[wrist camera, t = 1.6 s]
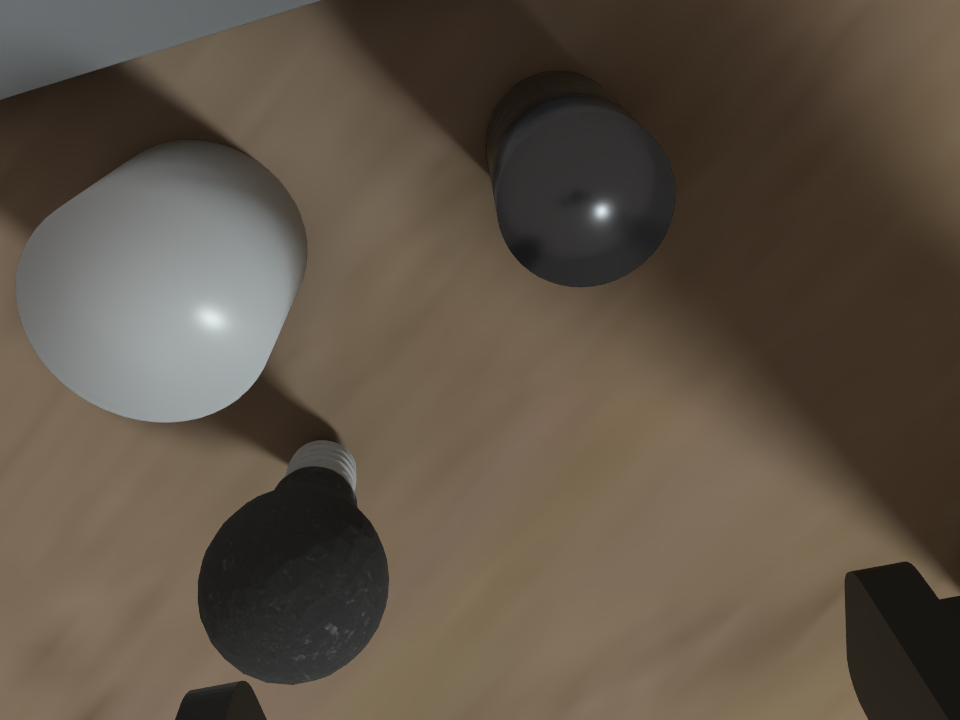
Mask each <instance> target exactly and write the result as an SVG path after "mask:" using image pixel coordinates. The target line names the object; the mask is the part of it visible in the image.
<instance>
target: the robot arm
mask: <svg viewBox="0 0 960 720" xmlns="http://www.w3.org/2000/svg"><path fill="white" fill-rule="evenodd" d="M845 613H846V645H847V661H848V667H849V672H850V676H851V680H852V683H853V686H854V689H855V692H856V695H857V697H858V700H859V702H860V704H861V706H862V708H863V710H864V712H865V714H866V716H867V718H868V720H960V596H956V597H951V598H945V599H938V597H937V596H936V595H935V593H934V592H933V591H932V589H931V588H930V586H929V585H928V584H927V582H926V581H925V580H924V578H923V577H922V576H921V574H920V573H919V572H918V570H917V569H916V568H915V567H914V566H913V565H912V564H911V563H909V562H900V563H895V564H889V565H884V566H878V567H873V568H867V569H862V570H856V571H851V572H848V573H847V574H846V576H845ZM175 720H267V719H266V717H265V715H264V713H263V710H262V708H261V706H260V704H259V702H258V700H257V697H256V695H255V693H254V691H253V689H252V687H251V686H250V685H249V683H247V682H246V681H239V682H234V683H228V684H223V685H217V686H212V687H206V688H201V689H195V690H191V691H189V692H188V693H187V694H186V695H185V696H184V698H183V700H182V702H181V705H180V708H179V710H178V713H177V716H176V719H175Z"/></svg>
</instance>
